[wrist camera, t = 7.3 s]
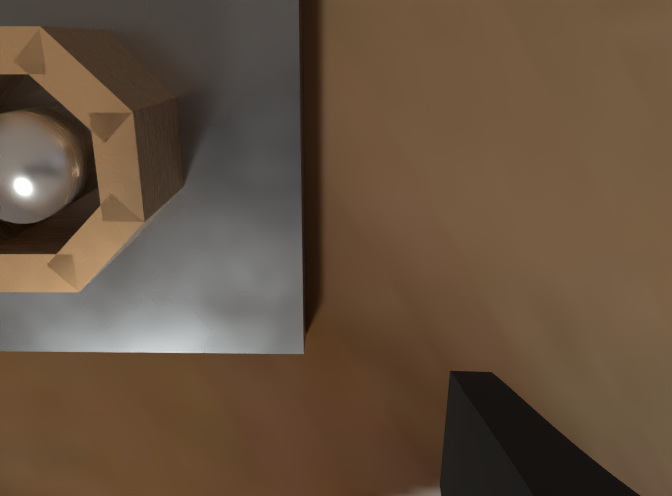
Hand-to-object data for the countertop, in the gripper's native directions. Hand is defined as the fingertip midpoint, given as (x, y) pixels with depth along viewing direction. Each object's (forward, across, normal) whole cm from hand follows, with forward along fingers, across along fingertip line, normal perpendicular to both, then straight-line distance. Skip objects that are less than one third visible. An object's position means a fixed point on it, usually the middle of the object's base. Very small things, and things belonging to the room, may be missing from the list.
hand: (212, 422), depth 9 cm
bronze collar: (+8, +5, -3) cm, 10 cm away
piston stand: (+9, +5, -3) cm, 11 cm away
